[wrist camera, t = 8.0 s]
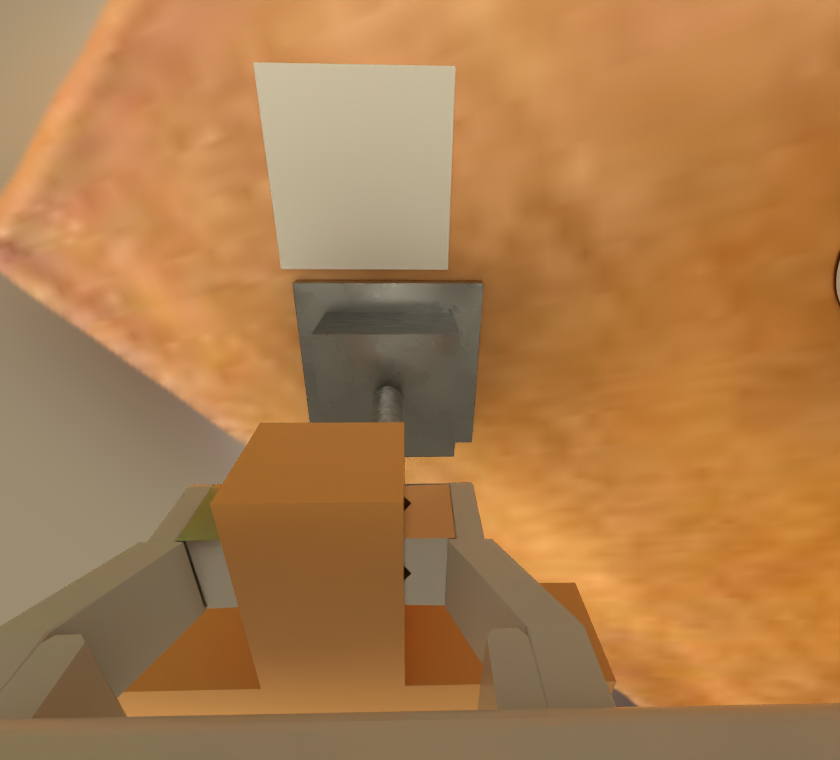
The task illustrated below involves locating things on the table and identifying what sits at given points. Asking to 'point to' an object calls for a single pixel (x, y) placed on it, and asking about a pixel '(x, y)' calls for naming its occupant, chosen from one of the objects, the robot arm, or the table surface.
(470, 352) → the stand
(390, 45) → the table surface
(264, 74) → the mat
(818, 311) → the table surface
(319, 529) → the orange handled frame
